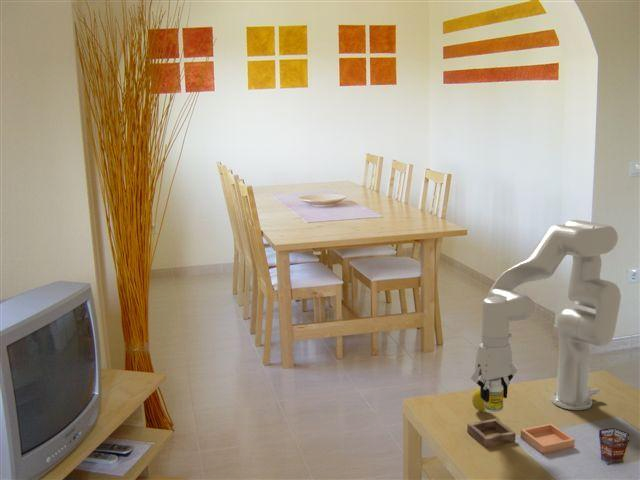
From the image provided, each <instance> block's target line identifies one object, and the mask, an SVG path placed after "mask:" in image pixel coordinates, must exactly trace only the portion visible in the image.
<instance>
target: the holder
mask: <svg viewBox="0 0 640 480" xmlns="http://www.w3.org/2000/svg"><path fill="white" fill-rule="evenodd" d="M466 429H467V431H466V432H467V433H468V434H469V435H470V436H472V437H473V438H474V439H475V440H476V441H477V442H478V443H480V445H482V446H484V447H485V448H489V447H493V446H499V445H503V443H504V444H508V443H513V442H516V435H517V434H516V433H517V432H515V431H514V430H512V429H511V428H509V427H508V426H507V425H506V424H505V423H503V422H501V421H500V420H499V419H498V418H492V419H487V420H481V421H476V422H472V423H467V428H466ZM493 429H495V430H496V431H497V432H498V433H500V434H494V435H490V436H487V435H486V434H485V433H483V432H484V431H488V430H493Z"/></svg>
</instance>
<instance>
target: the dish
mask: <svg viewBox="0 0 640 480" xmlns="http://www.w3.org/2000/svg"><path fill="white" fill-rule="evenodd" d="M520 438H521V439H522V440H523V441H525V442H526V443H527V444H528V445H530V447H532V448H534V449H536V450H537V451H538V452H539V453H541V455H548V454H550V453H551V454H553V453H556V452H557V453H558V452H561V451H565V450H569V449H574V448H575V438H573V437H572V436H570V435H569V434H568V433H566V432H564V431H563V430H561V428H558V427H557V426H556V425H554V424H553V423H551V422H549V423H545V424H542V425H537V426H531V427H527V428H522V429H520Z"/></svg>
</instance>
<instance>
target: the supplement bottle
mask: <svg viewBox="0 0 640 480" xmlns="http://www.w3.org/2000/svg"><path fill="white" fill-rule="evenodd" d="M487 389H489V401H488V402H485V409H486V410H485V411H487V412H490V413H500V412H502V411H503V410H504V397H503V386H502V385H501V378H497V379H491V380H490V381H489V384H488V387H487Z"/></svg>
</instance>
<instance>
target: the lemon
mask: <svg viewBox="0 0 640 480" xmlns="http://www.w3.org/2000/svg"><path fill="white" fill-rule="evenodd" d="M480 391H481V387H480V388H478V389H476V390H475V391H474V392H473V395H472V399H471V401H472V405H473V407H474V408H475V410H478V411H479V412H480V413H481V412H484V411H487V410H486V409H485V401H484V400H483V399H482V398H481V396H480Z"/></svg>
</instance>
